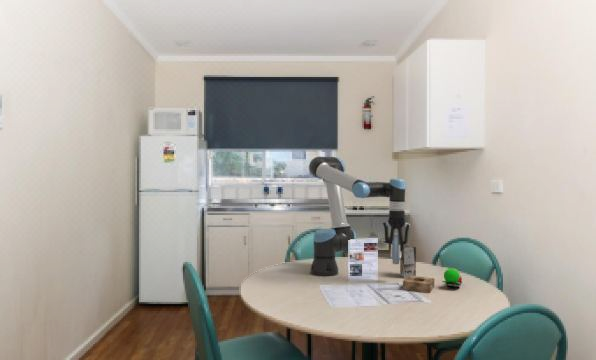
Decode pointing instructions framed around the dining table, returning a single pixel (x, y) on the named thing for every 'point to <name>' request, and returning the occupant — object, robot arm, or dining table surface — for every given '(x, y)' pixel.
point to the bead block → (418, 284)
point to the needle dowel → (396, 248)
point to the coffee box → (408, 261)
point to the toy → (452, 278)
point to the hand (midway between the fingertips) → (395, 257)
